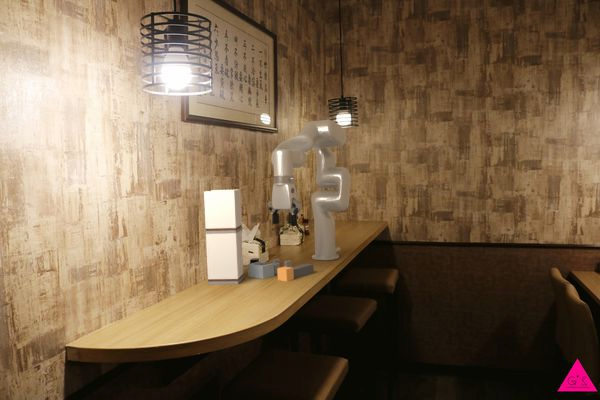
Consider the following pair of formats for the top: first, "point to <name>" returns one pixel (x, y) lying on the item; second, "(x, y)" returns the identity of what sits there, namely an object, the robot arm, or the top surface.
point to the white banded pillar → (223, 236)
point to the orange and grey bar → (294, 272)
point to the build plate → (254, 260)
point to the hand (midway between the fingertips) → (284, 224)
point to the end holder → (260, 270)
